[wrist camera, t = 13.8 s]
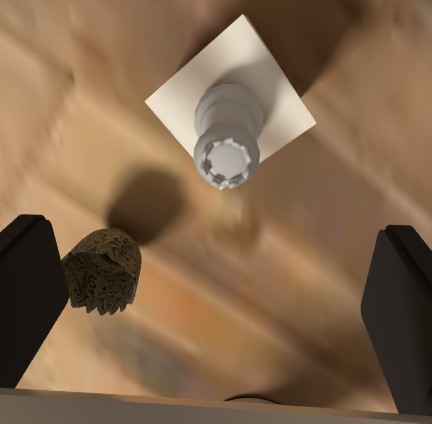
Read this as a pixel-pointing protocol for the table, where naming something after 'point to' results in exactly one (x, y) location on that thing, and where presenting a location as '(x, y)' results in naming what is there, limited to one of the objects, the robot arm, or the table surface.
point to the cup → (103, 270)
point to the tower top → (233, 74)
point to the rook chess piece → (227, 135)
